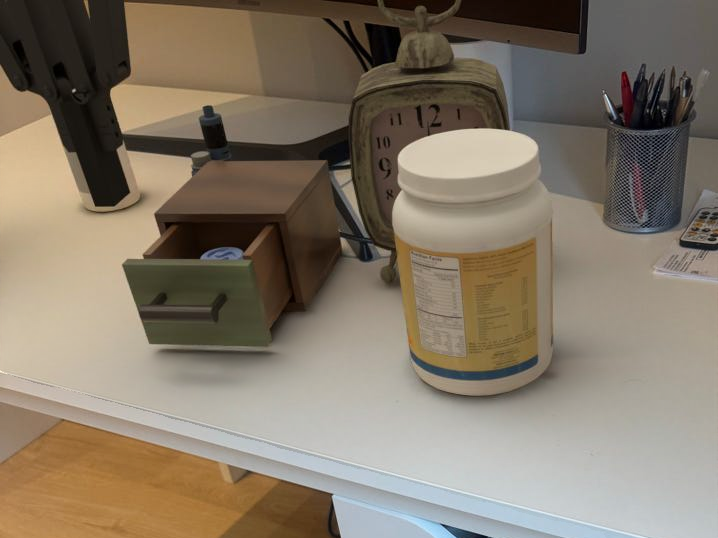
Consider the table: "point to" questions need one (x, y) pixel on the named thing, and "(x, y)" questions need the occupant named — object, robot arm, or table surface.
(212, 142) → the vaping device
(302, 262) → the cabinet
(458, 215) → the supplement tub
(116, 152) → the robot arm
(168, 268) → the drawer
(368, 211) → the tabletop clock
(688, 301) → the table surface
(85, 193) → the spray bottle
